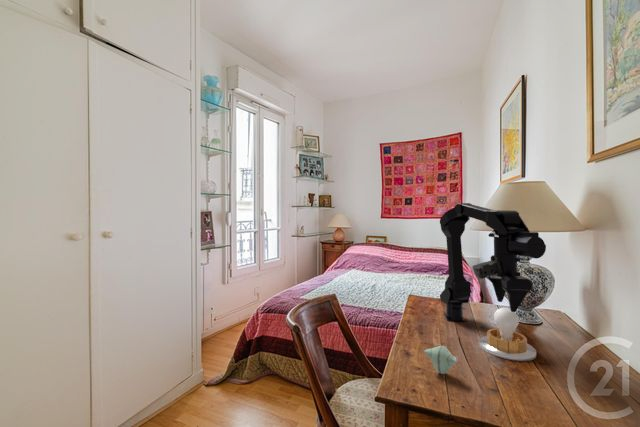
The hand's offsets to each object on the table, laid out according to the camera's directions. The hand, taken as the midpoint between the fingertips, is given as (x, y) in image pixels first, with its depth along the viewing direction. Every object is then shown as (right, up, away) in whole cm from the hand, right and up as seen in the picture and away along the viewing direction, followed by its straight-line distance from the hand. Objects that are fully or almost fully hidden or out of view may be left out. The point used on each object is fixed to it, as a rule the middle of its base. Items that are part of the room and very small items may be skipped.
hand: (506, 306), depth 84 cm
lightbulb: (0, -12, 0) cm, 12 cm away
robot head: (-24, -13, -12) cm, 30 cm away
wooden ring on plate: (0, -13, 0) cm, 13 cm away
